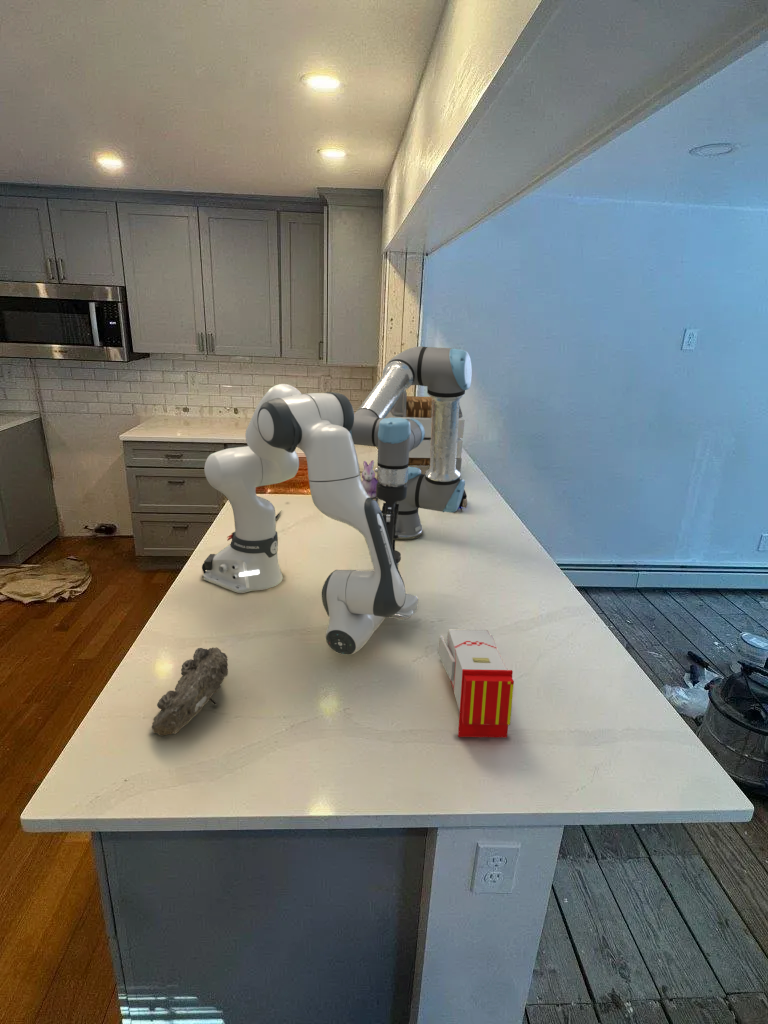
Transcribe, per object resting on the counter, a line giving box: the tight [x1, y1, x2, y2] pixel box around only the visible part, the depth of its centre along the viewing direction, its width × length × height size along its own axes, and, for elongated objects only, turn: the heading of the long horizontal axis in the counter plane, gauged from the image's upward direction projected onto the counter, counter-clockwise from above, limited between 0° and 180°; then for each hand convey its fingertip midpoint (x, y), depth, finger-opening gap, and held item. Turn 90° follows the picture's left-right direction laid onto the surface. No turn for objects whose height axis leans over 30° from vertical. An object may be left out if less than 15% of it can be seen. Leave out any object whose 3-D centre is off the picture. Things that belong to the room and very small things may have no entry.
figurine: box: [361, 460, 378, 499], centre depth 236 cm, size 9×10×15 cm
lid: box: [393, 549, 402, 564], centre depth 145 cm, size 6×6×2 cm
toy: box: [437, 628, 515, 738], centre depth 117 cm, size 12×13×30 cm
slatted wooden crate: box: [386, 389, 465, 475], centre depth 268 cm, size 34×33×41 cm
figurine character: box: [457, 489, 468, 512], centre depth 228 cm, size 7×8×15 cm
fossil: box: [152, 646, 229, 736], centre depth 110 cm, size 22×10×15 cm
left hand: (387, 586), depth 149 cm, fingers closed on jar, 5 cm apart
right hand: (387, 568), depth 146 cm, fingers closed on lid, 6 cm apart
